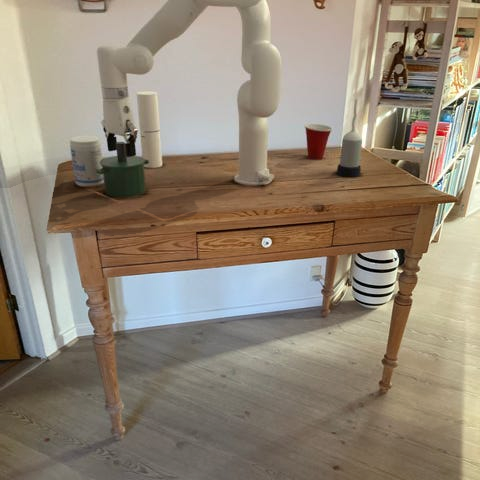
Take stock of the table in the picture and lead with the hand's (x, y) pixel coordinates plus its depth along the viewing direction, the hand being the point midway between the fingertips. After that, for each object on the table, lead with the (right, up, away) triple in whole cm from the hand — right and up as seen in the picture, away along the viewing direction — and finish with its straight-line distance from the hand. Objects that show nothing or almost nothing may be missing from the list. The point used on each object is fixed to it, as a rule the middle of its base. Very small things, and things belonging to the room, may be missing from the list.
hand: (122, 153), depth 161 cm
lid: (0, -2, +1) cm, 3 cm away
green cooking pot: (0, -11, +6) cm, 12 cm away
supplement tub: (-14, -6, +14) cm, 21 cm away
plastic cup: (+67, +13, +45) cm, 81 cm away
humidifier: (+75, +1, +26) cm, 80 cm away
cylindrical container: (+4, +6, +34) cm, 35 cm away
